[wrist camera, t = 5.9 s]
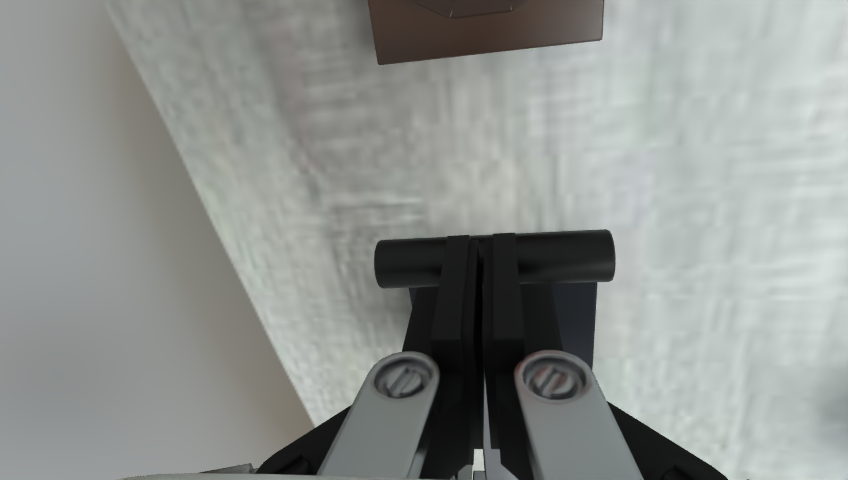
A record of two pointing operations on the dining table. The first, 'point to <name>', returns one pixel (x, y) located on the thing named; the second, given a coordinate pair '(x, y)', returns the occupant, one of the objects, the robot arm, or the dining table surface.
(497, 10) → the button box
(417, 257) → the lever
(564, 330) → the bracket
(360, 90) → the dining table surface
